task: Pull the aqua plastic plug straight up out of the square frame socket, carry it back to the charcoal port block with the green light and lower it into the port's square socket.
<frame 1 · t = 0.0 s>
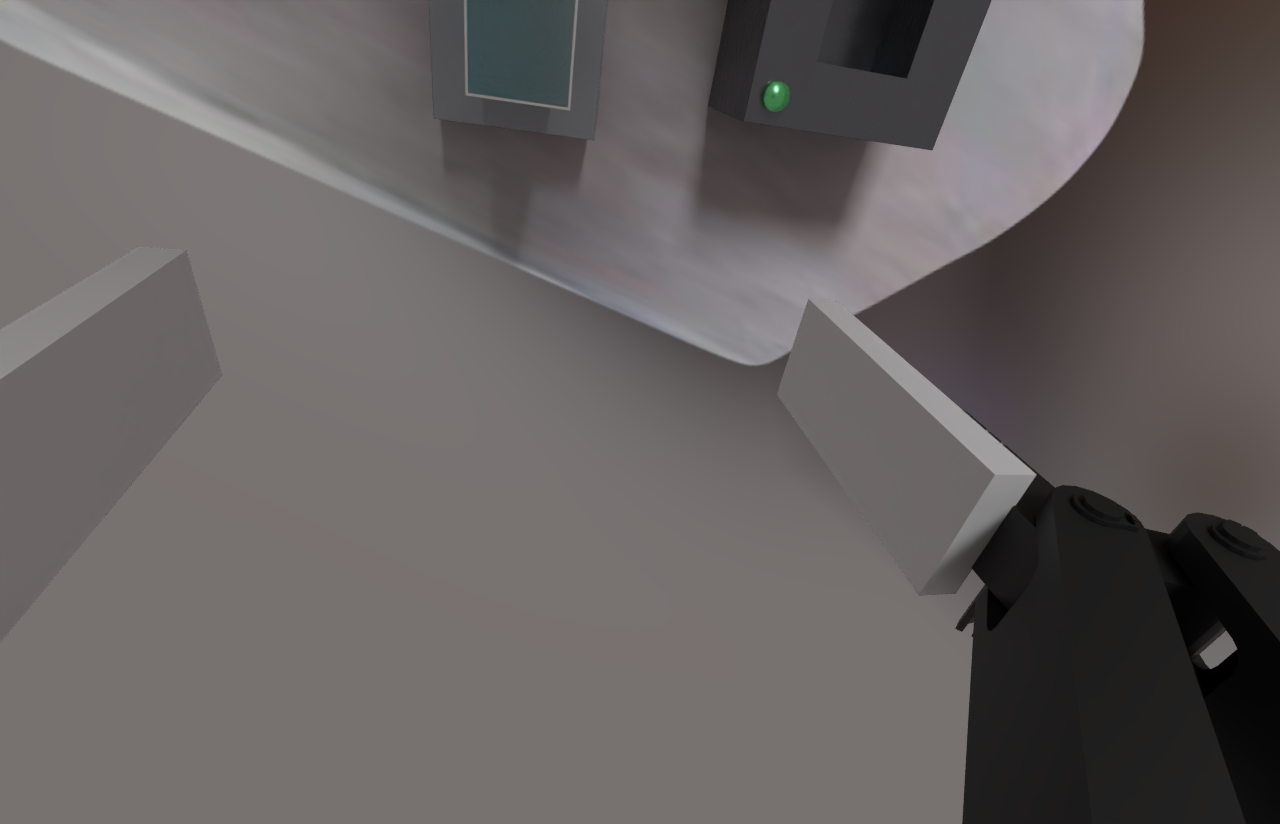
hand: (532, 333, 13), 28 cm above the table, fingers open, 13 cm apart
square frame socket: (518, 35, 33), on the table
plug: (518, 36, 32), point 1 cm above the table, touching square frame socket
port: (821, 10, 35), on the table
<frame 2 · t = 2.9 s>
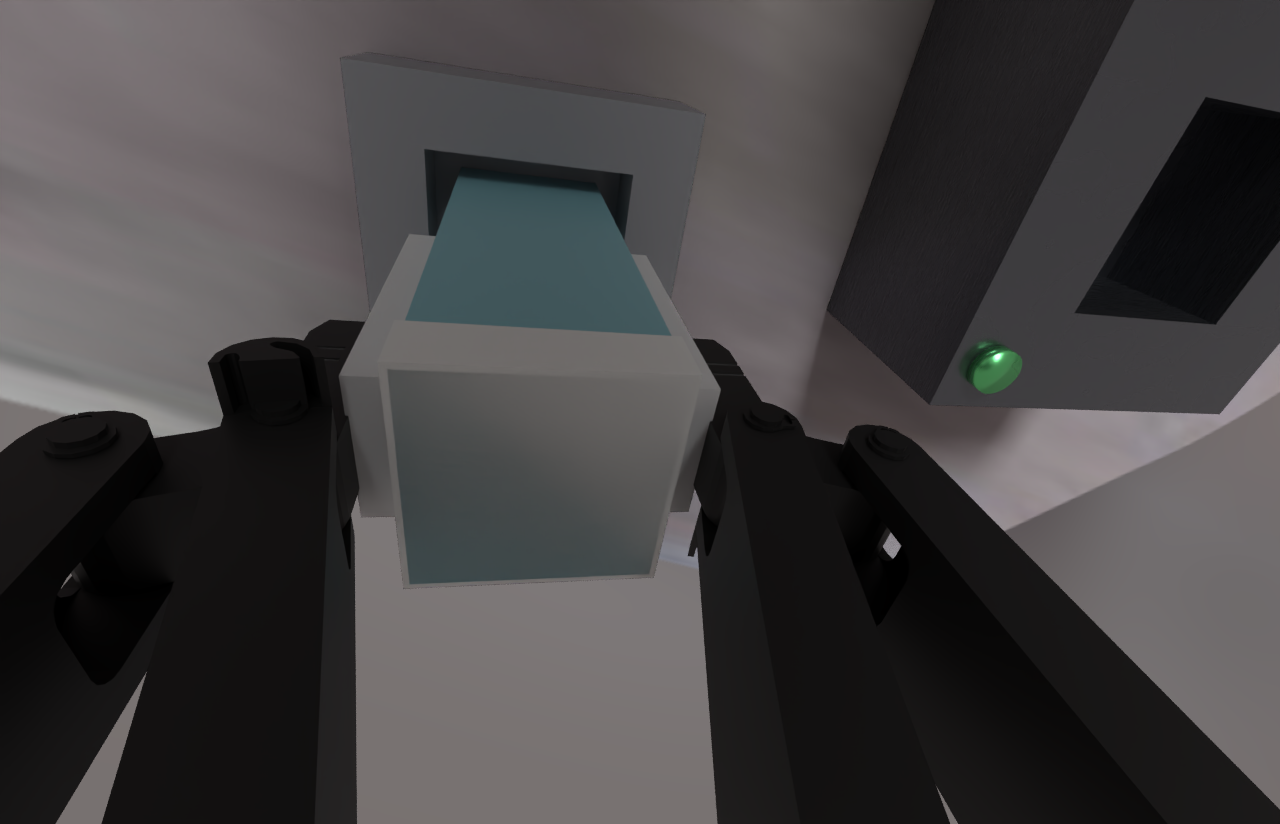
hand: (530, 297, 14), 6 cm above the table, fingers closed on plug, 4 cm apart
square frame socket: (526, 231, 19), on the table
plug: (527, 240, 18), point 1 cm above the table, touching gripper, square frame socket
port: (1024, 171, 21), on the table
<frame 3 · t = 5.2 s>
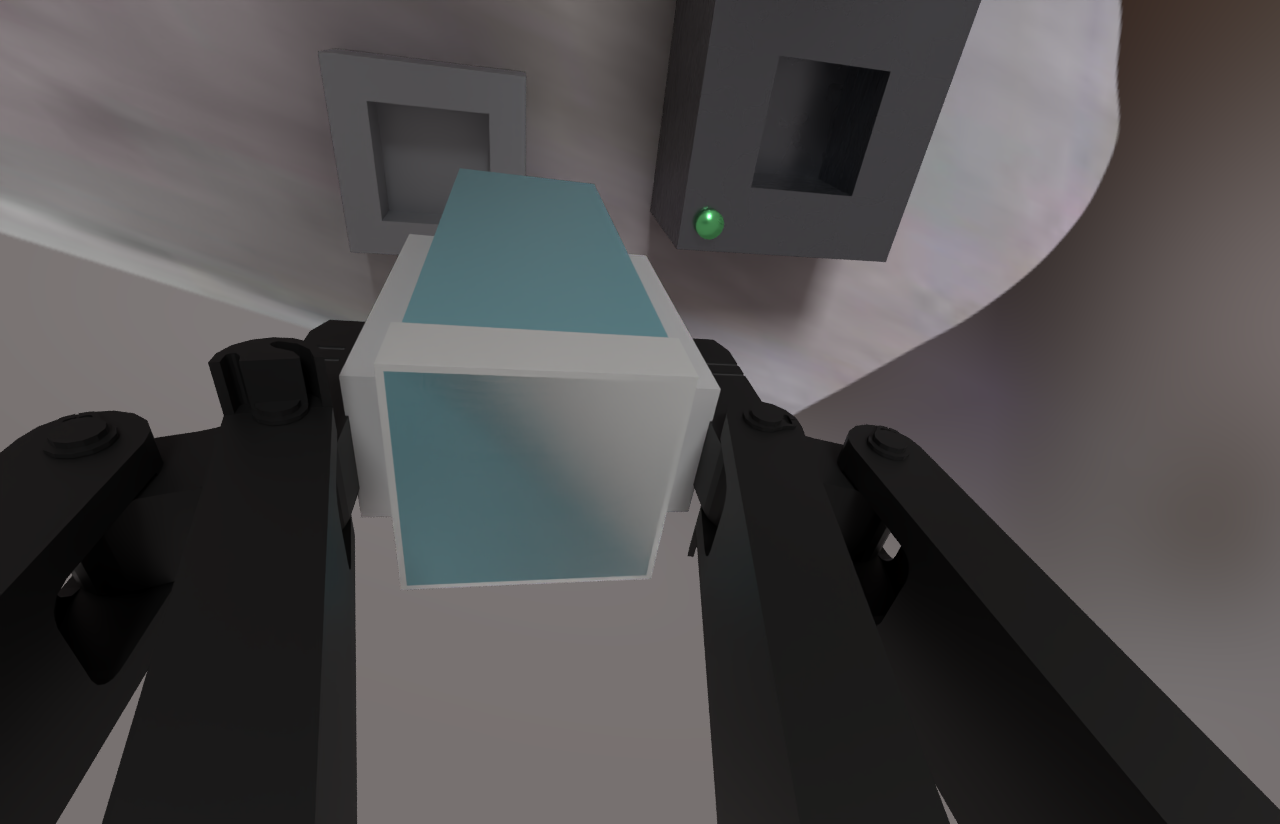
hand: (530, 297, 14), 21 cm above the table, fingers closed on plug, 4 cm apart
square frame socket: (440, 157, 31), on the table
plug: (526, 241, 18), point 16 cm above the table, touching gripper
port: (765, 112, 32), on the table
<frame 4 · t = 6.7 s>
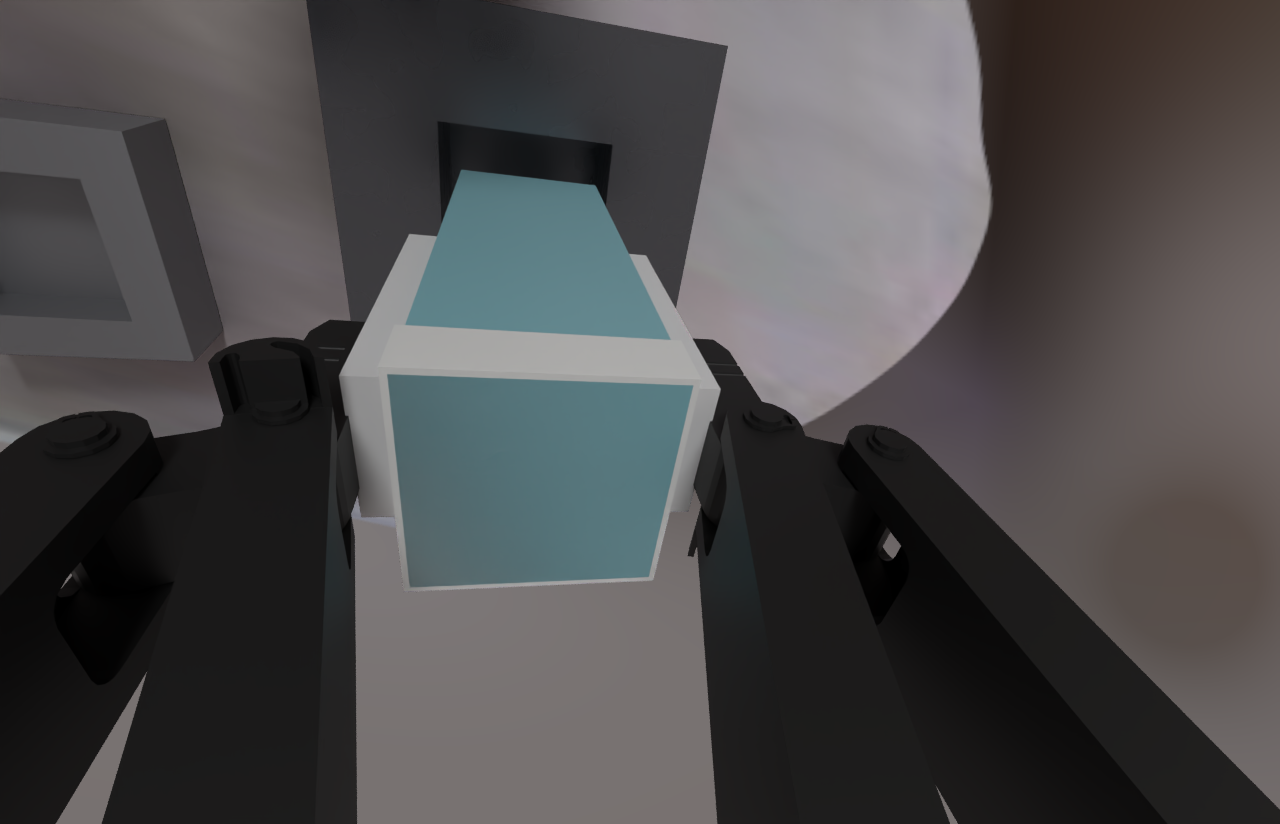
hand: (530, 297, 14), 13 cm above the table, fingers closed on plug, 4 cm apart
square frame socket: (70, 224, 23), on the table
plug: (527, 242, 18), point 9 cm above the table, touching gripper
port: (522, 174, 25), on the table
when the fingers open (9 cm above the table, at t = 8.0 s): plug stays where it is, resting on port.
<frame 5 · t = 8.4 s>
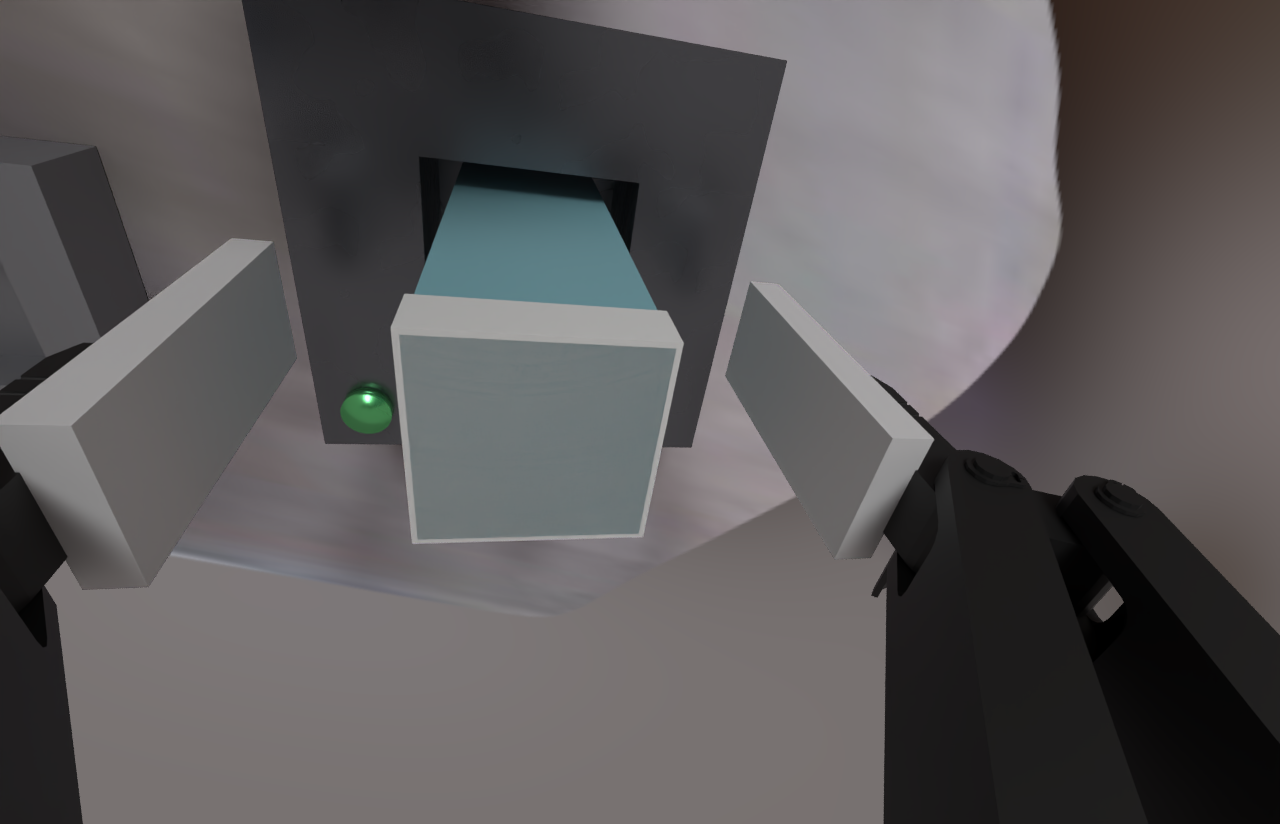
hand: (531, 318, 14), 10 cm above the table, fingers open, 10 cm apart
plug: (526, 232, 19), point 3 cm above the table, touching port
port: (525, 207, 22), on the table
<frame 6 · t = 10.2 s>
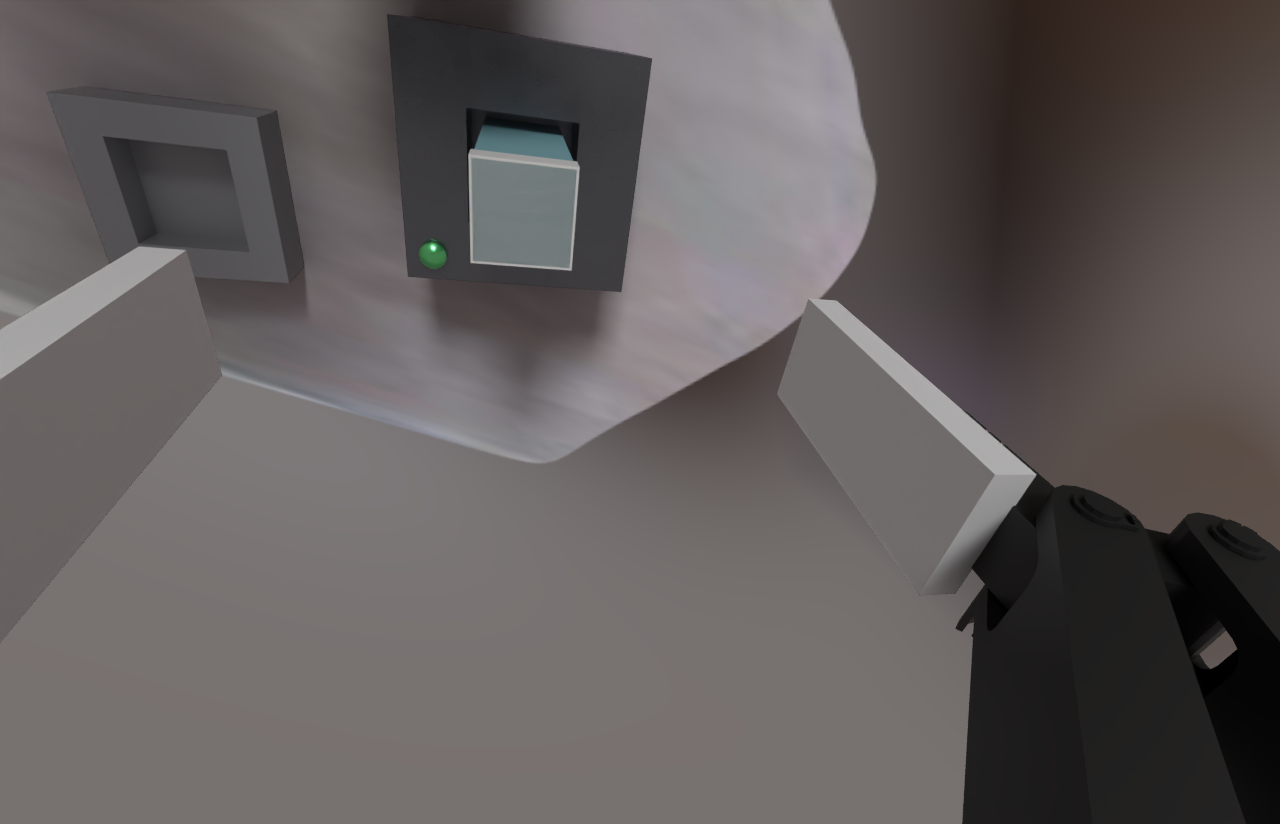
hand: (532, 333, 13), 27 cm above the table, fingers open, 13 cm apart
square frame socket: (205, 185, 33), on the table
plug: (521, 160, 33), point 3 cm above the table, touching port
port: (521, 150, 35), on the table
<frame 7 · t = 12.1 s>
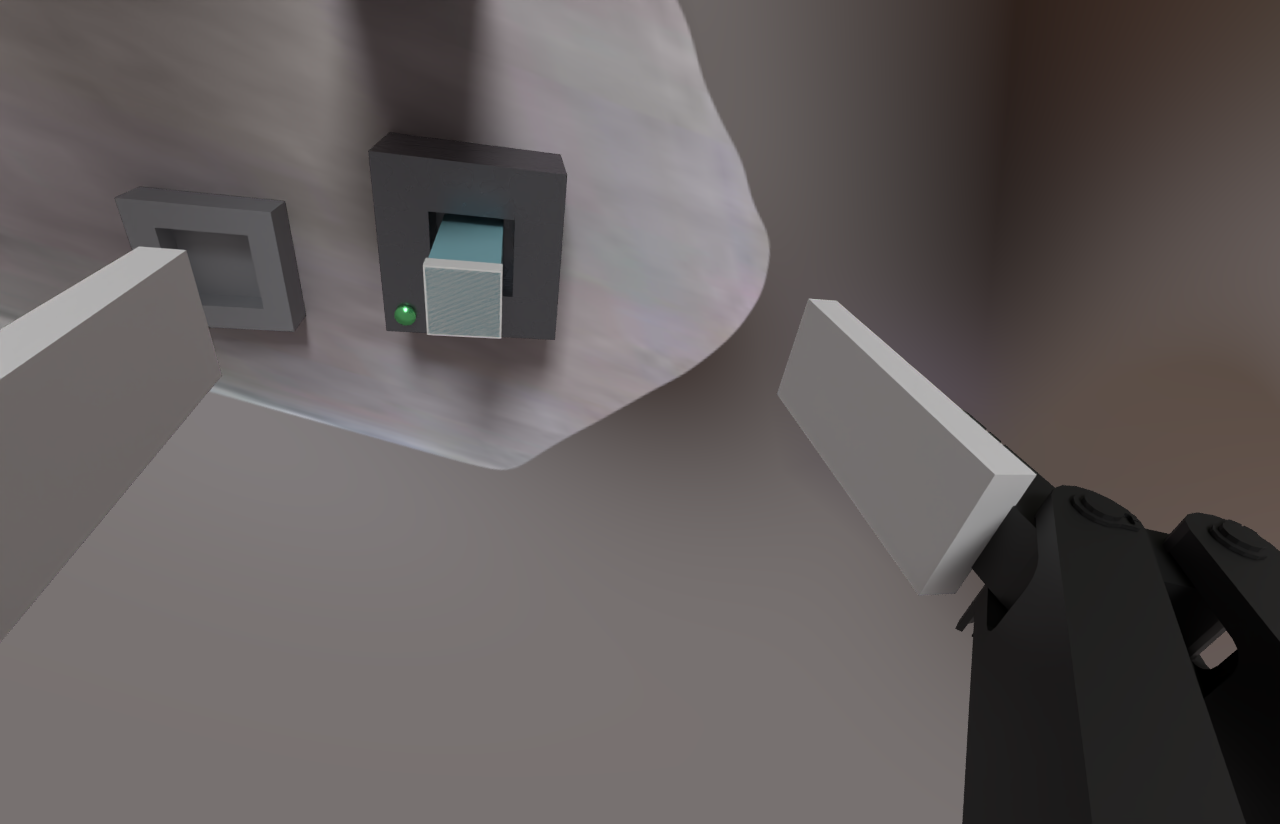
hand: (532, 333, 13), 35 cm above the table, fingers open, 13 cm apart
square frame socket: (229, 256, 43), on the table
plug: (475, 238, 42), point 3 cm above the table, touching port
port: (478, 226, 45), on the table
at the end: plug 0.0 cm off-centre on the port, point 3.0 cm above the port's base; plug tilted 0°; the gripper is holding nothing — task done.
